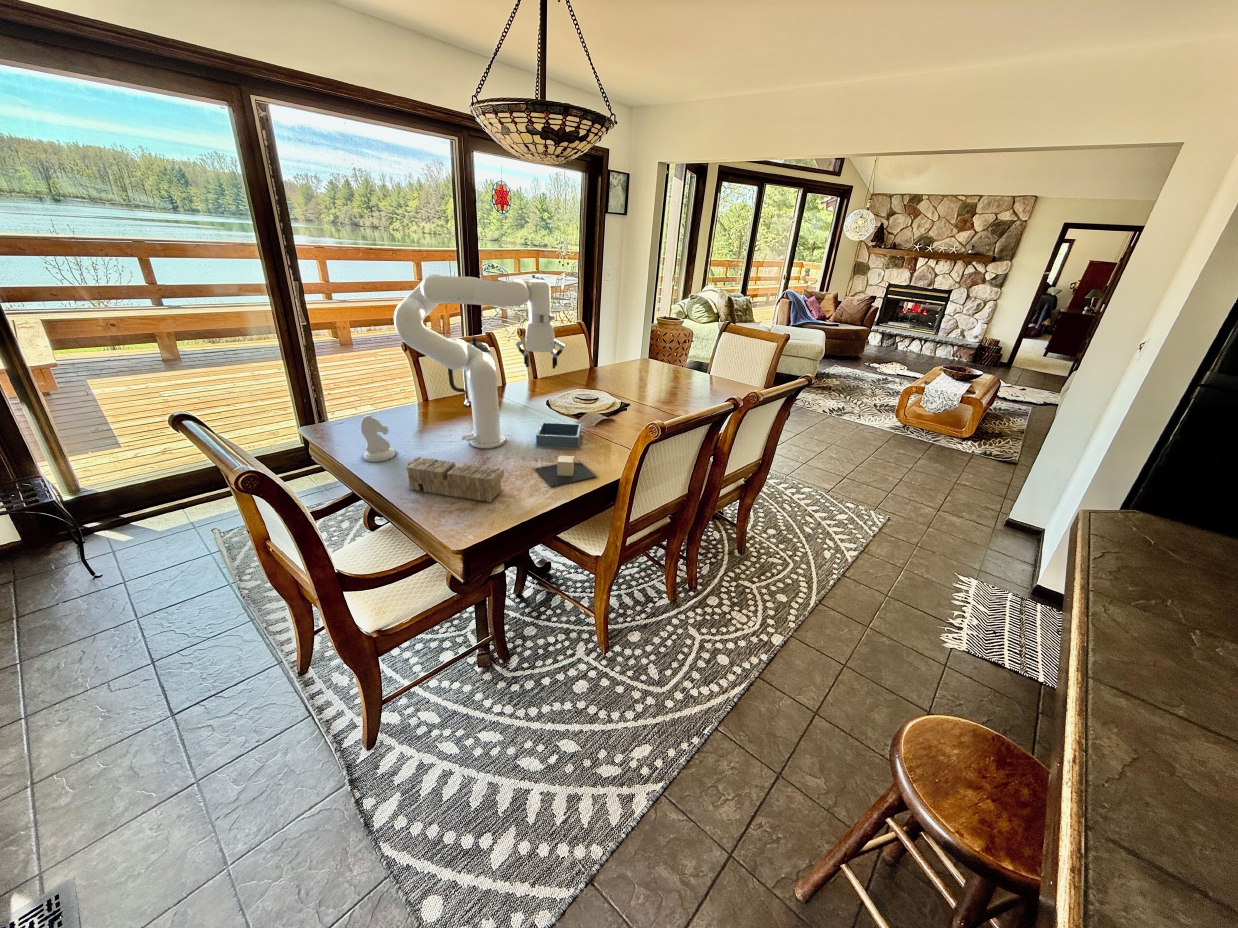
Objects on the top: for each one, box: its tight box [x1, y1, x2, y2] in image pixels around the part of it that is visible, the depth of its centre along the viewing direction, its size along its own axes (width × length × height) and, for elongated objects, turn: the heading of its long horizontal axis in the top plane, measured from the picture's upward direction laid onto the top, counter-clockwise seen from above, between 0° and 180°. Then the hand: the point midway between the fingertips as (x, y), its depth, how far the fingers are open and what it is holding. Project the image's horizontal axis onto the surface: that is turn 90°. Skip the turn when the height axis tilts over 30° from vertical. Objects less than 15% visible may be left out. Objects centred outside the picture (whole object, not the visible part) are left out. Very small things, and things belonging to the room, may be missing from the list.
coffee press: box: [447, 336, 494, 407], centre depth 215 cm, size 17×16×30 cm
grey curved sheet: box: [577, 412, 614, 427], centre depth 206 cm, size 14×10×3 cm
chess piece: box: [360, 414, 396, 463], centre depth 163 cm, size 10×10×15 cm
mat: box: [535, 462, 597, 488], centre depth 161 cm, size 16×14×1 cm
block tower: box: [406, 456, 505, 503], centre depth 145 cm, size 8×8×29 cm
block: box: [556, 455, 575, 476], centre depth 160 cm, size 5×5×5 cm
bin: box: [535, 421, 582, 449], centre depth 184 cm, size 16×14×5 cm
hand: (540, 367), depth 175 cm, fingers open, 9 cm apart
